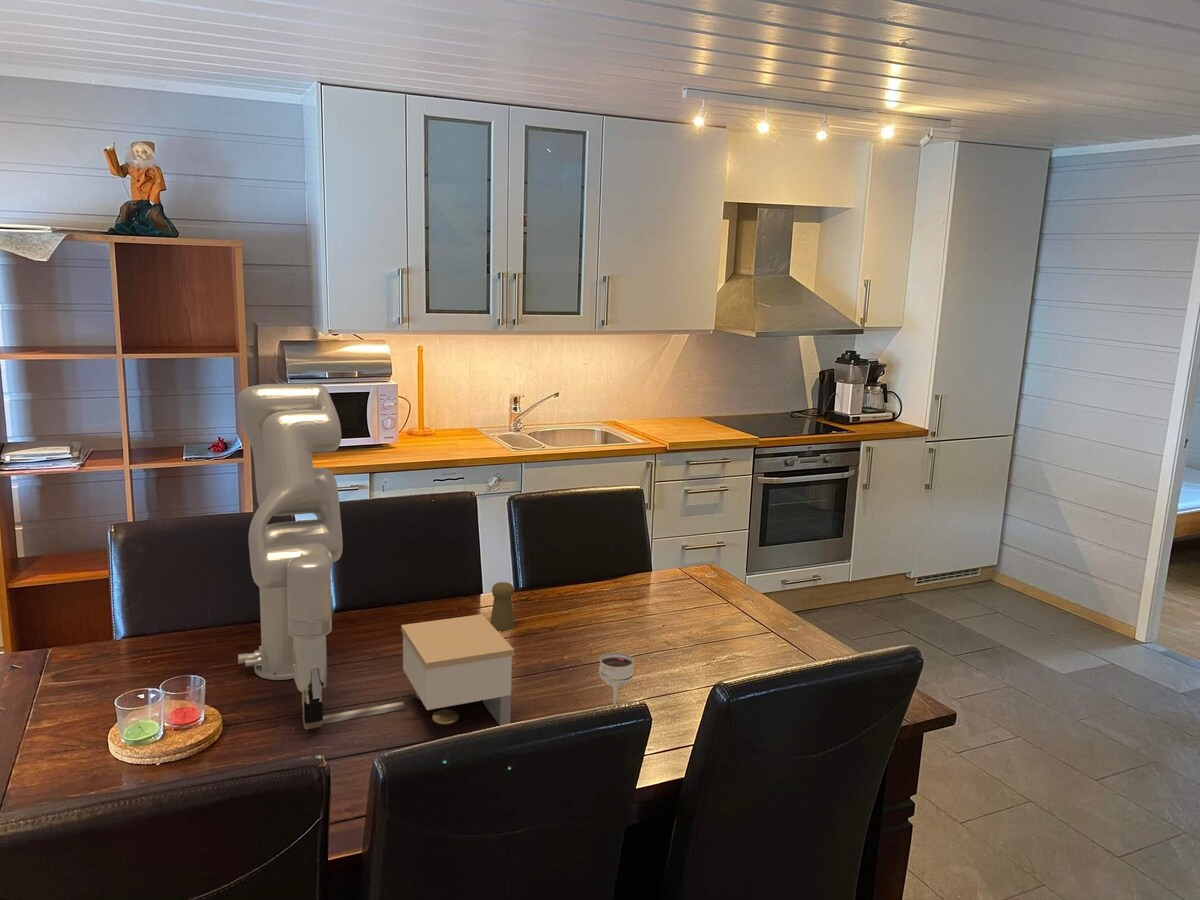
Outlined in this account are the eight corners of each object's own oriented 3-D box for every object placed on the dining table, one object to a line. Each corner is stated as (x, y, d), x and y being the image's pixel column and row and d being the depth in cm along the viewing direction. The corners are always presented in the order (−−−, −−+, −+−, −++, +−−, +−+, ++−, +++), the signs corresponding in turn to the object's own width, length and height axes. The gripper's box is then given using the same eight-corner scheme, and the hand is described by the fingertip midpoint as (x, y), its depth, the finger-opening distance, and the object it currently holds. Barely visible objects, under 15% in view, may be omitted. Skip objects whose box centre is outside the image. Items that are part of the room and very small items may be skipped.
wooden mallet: (305, 729, 160) (303, 689, 159) (302, 722, 163) (301, 682, 162) (405, 711, 169) (405, 672, 167) (401, 704, 171) (401, 666, 170)
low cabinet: (425, 741, 158) (426, 663, 155) (401, 696, 174) (401, 625, 172) (512, 724, 165) (514, 649, 162) (481, 683, 182) (482, 614, 179)
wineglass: (589, 716, 170) (591, 658, 167) (613, 706, 174) (616, 649, 172) (614, 730, 165) (617, 670, 163) (638, 718, 170) (641, 661, 167)
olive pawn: (515, 622, 214) (516, 579, 212) (513, 632, 208) (514, 588, 206) (490, 622, 214) (491, 579, 212) (488, 631, 208) (489, 587, 206)
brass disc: (436, 728, 164) (436, 724, 164) (429, 715, 168) (429, 711, 168) (462, 723, 166) (462, 719, 166) (454, 711, 170) (454, 707, 170)
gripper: (282, 610, 164) (285, 701, 168) (294, 643, 150) (296, 742, 153) (324, 605, 168) (326, 694, 171) (339, 637, 153) (340, 734, 157)
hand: (312, 716), depth 162 cm, fingers closed on wooden mallet, 3 cm apart
